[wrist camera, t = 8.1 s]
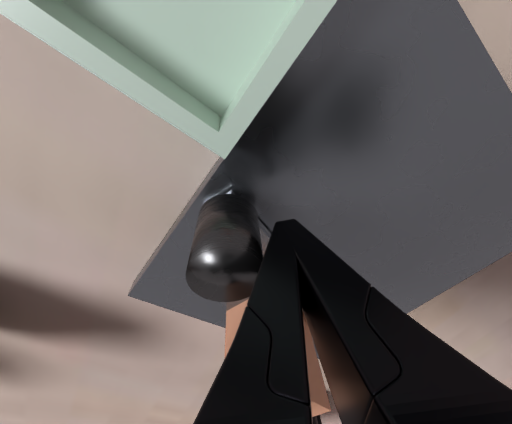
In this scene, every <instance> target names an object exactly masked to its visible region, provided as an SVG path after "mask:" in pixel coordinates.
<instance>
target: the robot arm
mask: <svg viewBox="0 0 512 424" xmlns="http://www.w3.org/2000/svg"><path fill="white" fill-rule="evenodd" d="M302 309H303V311H302ZM303 312H304V315H305V318H306V321H307V324H308V327H309V330H310V333H311V335H312V338H313V341H314V344H315V347H316V350H317V353H318V356H319V359H320V362H321V364H322V367H323V370H324V373H325V376H326V379H327V382H328V385H329V388H330V390H331V393H332V396H333V399H334V402H335V405H336V408H337V411H338V414H339V417H340V419H341V422H342V424H512V390H511V389H510V388H508V387H507V386H505V385H504V384H502V383H501V382H499V381H498V380H497V379H495V378H494V377H492V376H491V375H490V374H488V373H487V372H485V371H484V370H483V369H481V368H480V367H478V366H477V365H476V364H474V363H473V362H471V361H470V360H469V359H467V358H466V357H465V356H463V355H462V354H460V353H459V352H458V351H456V350H455V349H453V348H452V347H451V346H449V345H448V344H446V343H445V342H444V341H442V340H441V339H440V338H438V337H437V336H435V335H434V334H433V333H431V332H430V331H428V330H427V329H426V328H424V327H423V326H422V325H420V324H419V323H418V322H416V321H415V320H414V319H412V318H411V317H410V316H408V315H407V314H406V313H404V312H403V311H402V310H401V309H400V308H398V307H397V306H396V305H395V304H393V303H392V302H391V301H390V300H389V299H387V298H386V297H385V296H384V295H383V294H382V293H380V292H379V291H378V290H377V289H376V288H375V287H373V286H372V287H371V284H370V283H369V282H368V281H366V280H365V279H364V278H363V277H362V276H361V275H360V274H358V273H357V272H356V271H355V270H354V269H353V268H351V267H350V266H349V265H348V264H347V263H346V262H344V261H343V260H342V259H341V258H340V257H339V256H338V255H336V254H335V253H334V252H333V251H332V250H331V249H329V248H328V247H327V246H326V245H325V244H324V243H323V242H321V241H320V240H319V239H318V238H317V237H316V236H314V235H313V234H312V233H311V232H310V231H309V230H308V229H306V228H305V227H304V226H303V225H302V224H301V223H299V222H298V221H297V220H296V219H289V220H283V221H277V222H275V224H274V227H273V230H272V233H271V236H270V239H269V242H268V245H267V247H266V250H265V253H264V256H263V259H262V262H261V265H260V268H259V271H258V273H257V276H256V279H255V282H254V285H253V288H252V291H251V294H250V296H249V299H248V302H247V307H246V308H245V310H244V313H243V316H242V319H241V322H240V324H239V327H238V330H237V332H236V335H235V337H234V340H233V342H232V344H231V346H230V349H229V351H228V353H227V355H226V357H225V360H224V362H223V364H222V366H221V368H220V370H219V372H218V374H217V376H216V378H215V380H214V382H213V384H212V386H211V388H210V391H209V393H208V395H207V397H206V399H205V401H204V403H203V405H202V407H201V409H200V411H199V413H198V415H197V417H196V419H195V421H194V423H193V424H322V423H321V419H320V415H317V416H314V417H312V408H311V397H310V387H309V376H308V365H307V354H306V344H305V333H304V322H303Z"/></svg>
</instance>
